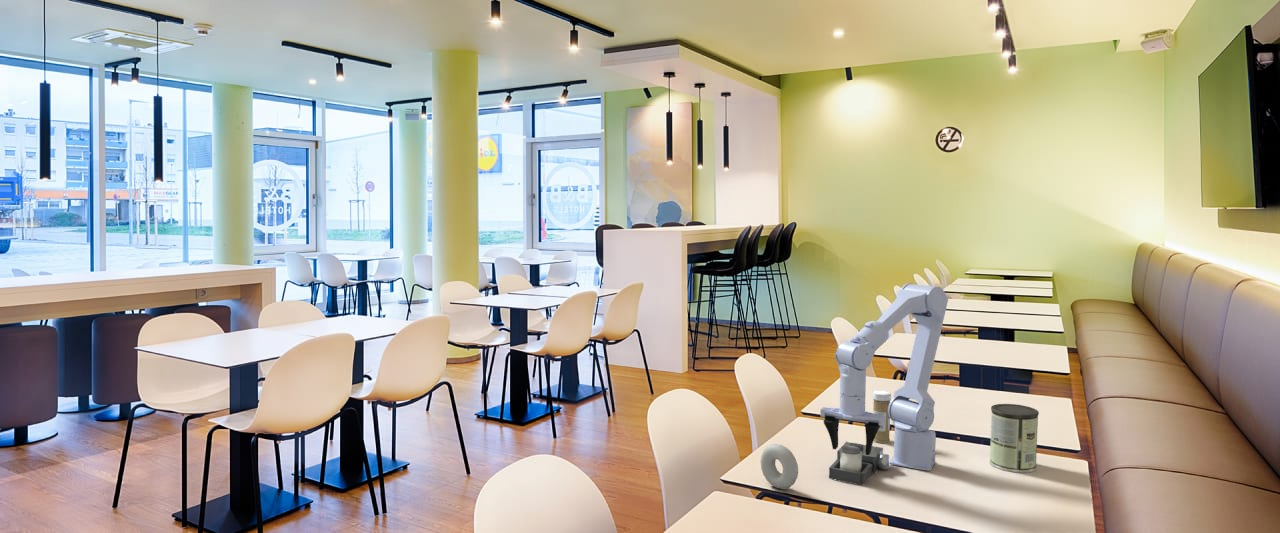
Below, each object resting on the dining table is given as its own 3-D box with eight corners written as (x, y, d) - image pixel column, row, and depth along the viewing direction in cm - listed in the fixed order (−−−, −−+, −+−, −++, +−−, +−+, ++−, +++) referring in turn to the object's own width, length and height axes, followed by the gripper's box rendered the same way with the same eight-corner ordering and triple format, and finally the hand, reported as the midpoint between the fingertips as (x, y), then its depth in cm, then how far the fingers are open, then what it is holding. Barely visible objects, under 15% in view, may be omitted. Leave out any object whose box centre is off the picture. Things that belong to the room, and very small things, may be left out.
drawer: (891, 465, 180) (891, 445, 180) (883, 475, 173) (884, 454, 173) (845, 457, 186) (846, 438, 185) (836, 467, 179) (837, 446, 178)
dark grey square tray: (873, 472, 175) (873, 462, 175) (863, 485, 167) (864, 474, 167) (839, 466, 179) (839, 456, 179) (828, 478, 171) (828, 468, 171)
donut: (756, 483, 168) (757, 440, 168) (767, 479, 170) (767, 437, 170) (790, 496, 161) (791, 451, 160) (801, 493, 163) (802, 448, 162)
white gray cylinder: (863, 475, 173) (864, 447, 173) (857, 481, 169) (858, 452, 169) (843, 471, 176) (844, 443, 175) (837, 477, 172) (837, 449, 171)
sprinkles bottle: (893, 441, 198) (894, 392, 197) (882, 444, 196) (883, 395, 195) (879, 437, 202) (880, 389, 201) (868, 440, 199) (869, 391, 198)
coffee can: (996, 455, 187) (999, 401, 186) (1041, 465, 180) (1044, 408, 179) (982, 466, 180) (985, 409, 179) (1029, 476, 173) (1031, 417, 172)
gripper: (816, 393, 171) (815, 450, 172) (880, 401, 164) (879, 461, 165) (825, 387, 177) (824, 442, 179) (887, 394, 170) (886, 452, 171)
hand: (851, 450), depth 172 cm, fingers open, 7 cm apart
